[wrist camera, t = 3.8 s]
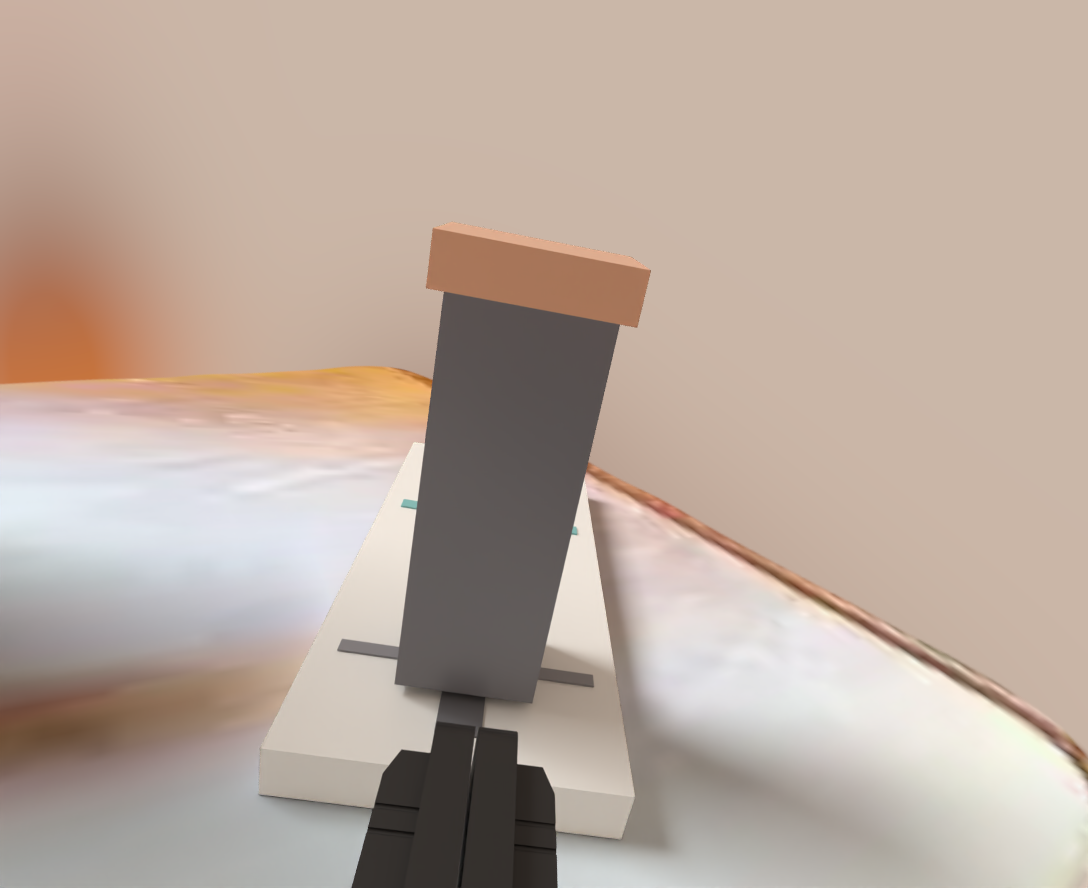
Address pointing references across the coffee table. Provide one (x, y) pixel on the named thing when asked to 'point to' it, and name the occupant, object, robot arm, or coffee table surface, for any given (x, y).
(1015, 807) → the coffee table surface
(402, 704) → the plate
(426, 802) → the robot arm
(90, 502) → the coffee table surface
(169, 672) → the coffee table surface
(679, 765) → the coffee table surface
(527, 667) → the post
